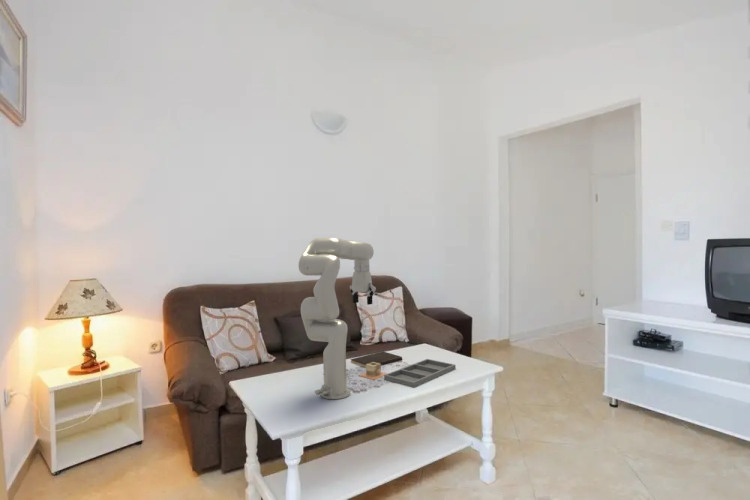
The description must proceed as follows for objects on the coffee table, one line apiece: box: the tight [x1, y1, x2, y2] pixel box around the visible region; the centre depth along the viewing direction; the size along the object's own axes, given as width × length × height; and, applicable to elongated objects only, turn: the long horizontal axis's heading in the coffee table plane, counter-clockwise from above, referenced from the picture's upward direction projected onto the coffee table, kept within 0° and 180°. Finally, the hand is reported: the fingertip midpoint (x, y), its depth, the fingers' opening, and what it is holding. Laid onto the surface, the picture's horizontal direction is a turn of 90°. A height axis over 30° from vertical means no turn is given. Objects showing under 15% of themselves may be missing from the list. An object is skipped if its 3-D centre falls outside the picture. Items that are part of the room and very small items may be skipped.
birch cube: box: [365, 362, 382, 377], centre depth 197 cm, size 5×5×5 cm
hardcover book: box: [350, 351, 403, 369], centre depth 222 cm, size 16×23×2 cm
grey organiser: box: [383, 358, 457, 389], centre depth 197 cm, size 34×17×2 cm, turn 137°
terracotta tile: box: [358, 371, 388, 381], centre depth 197 cm, size 10×10×1 cm
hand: (362, 303), depth 206 cm, fingers open, 9 cm apart
